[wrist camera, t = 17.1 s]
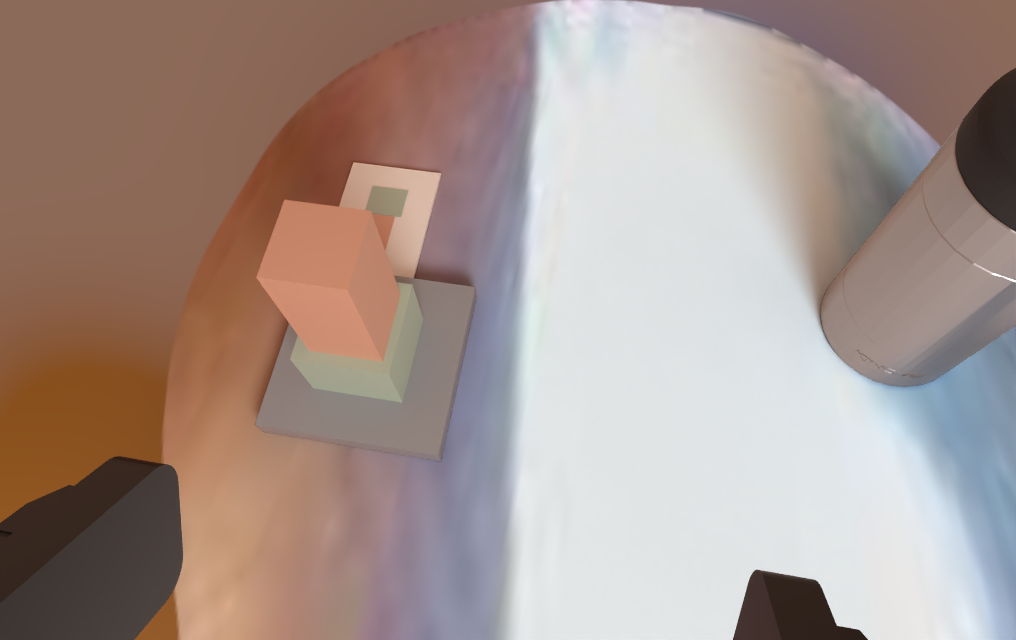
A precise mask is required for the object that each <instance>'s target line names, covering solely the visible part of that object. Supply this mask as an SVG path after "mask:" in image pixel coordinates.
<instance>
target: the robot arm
mask: <svg viewBox="0 0 1016 640" xmlns="http://www.w3.org/2000/svg"><path fill="white" fill-rule="evenodd" d="M821 321H822V326H823V330H824V333H825V335H826V337H827V340H828V342H829V344H830V345H831V346H832V348H833V349H834V351H835V352H836V354H837V355H838V356H839V357H840V358H841V359H842V360H843V361H844V362H845V363H846V364H847V365H848V366H850V367H851V368H852V369H854V370H855V371H857V372H858V373H859V374H861V375H863V376H865V377H867V378H869V379H871V380H873V381H876V382H880V383H883V384H887V385H891V386H901V387H909V386H919V385H923V384H926V383H929V382H932V381H934V380H935V379H937V378H939V377H940V376H942V375H944V374H945V373H946V372H948V371H949V370H951V369H952V368H954V367H955V366H957V365H958V364H960V363H961V362H963V361H964V360H966V359H967V358H969V357H970V356H972V355H973V354H975V353H976V352H978V351H979V350H981V349H982V348H984V347H985V346H987V345H988V344H989V343H991V342H992V341H994V340H995V339H997V338H998V337H1000V336H1001V335H1003V334H1004V333H1006V332H1007V331H1008V330H1010V329H1011V328H1013V327H1014V326H1016V68H1015V69H1013V70H1011V71H1010V72H1008V73H1007V74H1005V75H1004V76H1002V77H1001V78H1000V79H999V80H997V81H996V82H995V83H994V84H993V85H992V86H991V87H990V88H989V89H988V90H987V91H986V92H985V93H984V94H983V95H982V97H981V98H980V99H979V100H978V102H977V103H976V104H975V105H974V107H973V108H972V109H971V110H970V111H969V113H968V114H967V115H966V116H965V118H964V119H963V121H962V122H961V123H960V125H959V126H958V127H957V128H956V130H955V131H954V132H953V133H952V135H951V136H950V137H949V138H948V139H947V141H946V142H945V143H944V145H943V146H942V147H941V148H940V149H939V151H938V152H937V153H936V154H935V156H934V157H933V158H932V159H931V161H930V162H929V164H928V165H927V166H926V167H925V168H924V170H923V171H922V172H921V173H920V175H919V176H918V177H917V178H916V180H915V181H914V182H913V183H912V185H911V186H910V187H909V188H908V189H907V191H906V192H905V193H904V194H903V196H902V197H901V198H900V199H899V201H898V202H897V203H896V204H895V206H894V207H893V208H892V209H891V210H890V212H889V213H888V214H887V215H886V217H885V218H884V219H883V220H882V222H881V223H880V224H879V225H878V227H877V228H876V229H875V230H874V231H873V233H872V234H871V235H870V236H869V238H868V239H867V240H866V241H865V243H864V244H863V245H862V246H861V247H860V249H859V250H858V251H857V252H856V254H855V255H854V256H853V257H852V258H851V259H850V261H849V262H848V263H847V264H846V266H845V267H844V268H843V269H842V271H841V272H840V273H839V274H838V276H837V277H836V278H835V279H834V281H833V282H832V283H831V285H830V286H829V288H828V289H827V291H826V292H825V295H824V298H823V301H822V304H821ZM182 562H183V546H182V531H181V515H180V500H179V485H178V476H177V473H176V471H175V469H174V468H173V467H172V466H170V465H167V464H161V463H155V462H149V461H144V460H138V459H132V458H127V457H121V456H118V457H114V458H111V459H109V460H108V461H106V462H105V463H104V464H102V465H101V466H100V467H98V468H97V469H96V470H94V471H93V472H92V473H91V474H89V475H88V476H87V477H85V478H84V479H83V480H81V481H80V482H79V483H78V484H76V485H75V486H71V485H68V486H66V487H64V488H61V489H59V490H57V491H55V492H52V493H50V494H48V495H45V496H43V497H41V498H39V499H37V500H34V501H32V502H29V503H27V504H26V505H24V506H23V507H21V508H20V509H19V510H17V511H16V512H15V513H13V514H12V515H11V516H9V517H8V518H7V519H5V520H4V521H2V522H1V523H0V640H134V639H135V638H136V637H137V636H138V635H139V633H140V632H141V631H142V630H143V629H144V627H145V626H146V625H147V624H148V623H149V622H150V620H151V619H152V618H153V617H154V616H155V614H156V613H157V612H158V611H159V610H160V609H161V607H162V606H163V605H164V604H165V603H166V601H167V600H168V599H169V597H170V595H171V594H172V592H173V590H174V588H175V586H176V584H177V581H178V578H179V575H180V572H181V568H182ZM733 640H868V639H867V638H866V637H865V636H864V635H863V634H862V632H861V631H860V630H857V629H851V628H846V627H840V626H837V625H836V623H835V620H834V618H833V615H832V613H831V610H830V608H829V605H828V603H827V600H826V598H825V595H824V593H823V590H822V588H821V586H820V584H819V583H818V582H817V581H816V580H813V579H807V578H801V577H796V576H790V575H784V574H779V573H773V572H767V571H761V570H755V571H754V572H753V573H752V575H751V577H750V579H749V583H748V586H747V590H746V593H745V597H744V601H743V604H742V608H741V612H740V616H739V619H738V623H737V627H736V630H735V634H734V638H733Z"/></svg>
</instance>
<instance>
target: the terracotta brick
mask: <svg viewBox="0 0 1016 640" xmlns="http://www.w3.org/2000/svg"><path fill="white" fill-rule="evenodd" d="M256 278H257V279H258V280H259V282H260V283H261V285H262V286H263V287H264V289H265V290H266V292H267V293H268V294H269V296H270V297H271V299H272V300H273V301H274V303H275V304H276V305H277V307H278V308H279V310H280V311H281V312H282V314H283V315H284V317H285V318H286V319H287V321H288V322H289V324H290V325H291V326H292V328H293V329H294V331H295V332H296V333H297V335H298V336H299V338H300V339H301V340H302V342H303V343H304V345H305V346H306V347H307V349H308V350H309V351H313V352H319V353H326V354H333V355H339V356H346V357H353V358H359V359H366V360H373V361H379V362H383V360H384V356H385V352H386V348H387V344H388V341H389V337H390V333H391V329H392V325H393V322H394V318H395V314H396V310H397V306H398V302H399V299H400V295H401V294H400V291H399V289H398V286H397V283H396V280H395V277H394V274H393V272H392V269H391V266H390V263H389V260H388V257H387V255H386V252H385V249H384V246H383V243H382V241H381V238H380V235H379V232H378V229H377V226H376V224H375V221H374V218H373V215H372V212H371V211H368V210H360V209H352V208H345V207H337V206H329V205H321V204H314V203H306V202H298V201H290V200H284V203H283V205H282V208H281V211H280V214H279V216H278V219H277V222H276V225H275V227H274V230H273V233H272V236H271V238H270V241H269V244H268V247H267V249H266V252H265V255H264V258H263V260H262V263H261V266H260V269H259V271H258V274H257V277H256Z"/></svg>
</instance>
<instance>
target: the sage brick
mask: <svg viewBox="0 0 1016 640" xmlns="http://www.w3.org/2000/svg"><path fill="white" fill-rule="evenodd" d="M396 283H397V286H398V289H399V291H400V294H401V295H400V299H399V302H398V306H397V310H396V314H395V318H394V322H393V325H392V329H391V333H390V337H389V341H388V344H387V348H386V352H385V356H384V360H383V362H379V361H373V360H366V359H359V358H353V357H346V356H339V355H333V354H326V353H319V352H313V351H309V350H308V349H307V347H306V346H305V345H304V343H303V342H302V340H301V339H300V338H299V336H297V339H296V343H295V346H294V349H293V352H292V355H291V358H290V360H291V361H292V362H293V363H294V365H295V366H296V367H297V368H298V370H299V371H300V372H301V373H302V375H303V376H304V377H305V378H306V380H307V381H308V382H309V384H310V385H311V386H312V387H313V388H315V389H321V390H327V391H333V392H340V393H346V394H352V395H358V396H364V397H371V398H377V399H383V400H389V401H395V402H402V403H403V399H404V395H405V391H406V387H407V383H408V379H409V375H410V371H411V367H412V363H413V359H414V355H415V351H416V347H417V343H418V339H419V335H420V331H421V327H422V323H423V317H422V313H421V310H420V307H419V304H418V301H417V297H416V294H415V291H414V288H413V285H412V284H405V283H398V282H396Z"/></svg>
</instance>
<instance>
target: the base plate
mask: <svg viewBox="0 0 1016 640" xmlns="http://www.w3.org/2000/svg"><path fill="white" fill-rule="evenodd" d="M394 277H395V280H396V282H398V283H405V284H412V285H413V288H414V291H415V294H416V297H417V301H418V304H419V307H420V310H421V313H422V317H423V323H422V327H421V331H420V335H419V339H418V343H417V347H416V351H415V355H414V359H413V363H412V367H411V371H410V375H409V379H408V383H407V387H406V391H405V395H404V399H403V403H402V402H395V401H389V400H383V399H377V398H371V397H364V396H358V395H352V394H346V393H340V392H333V391H327V390H321V389H315V388H313V387H312V386H311V385H310V384H309V382H308V381H307V380H306V378H305V377H304V376H303V375H302V373H301V372H300V371H299V370H298V368H297V367H296V366H295V365H294V363H293V362H292V361H291V360H290V358H291V355H292V352H293V349H294V346H295V343H296V339H297V336H298V335H297V333H296V332H295V331H294V329H293V328H292V326H291V325H290V324H289V325H288V328H287V331H286V334H285V337H284V340H283V343H282V346H281V349H280V352H279V355H278V357H277V360H276V363H275V366H274V369H273V372H272V375H271V378H270V381H269V384H268V387H267V390H266V393H265V396H264V399H263V402H262V405H261V408H260V411H259V414H258V417H257V420H256V423H255V425H256V426H257V427H258V428H259V429H260V430H261V431H263V432H268V433H274V434H280V435H286V436H292V437H298V438H304V439H310V440H316V441H322V442H328V443H333V444H339V445H345V446H351V447H357V448H363V449H369V450H375V451H381V452H387V453H393V454H399V455H405V456H411V457H417V458H423V459H429V460H435V461H441V459H442V454H443V450H444V445H445V440H446V436H447V431H448V427H449V422H450V417H451V413H452V408H453V404H454V399H455V394H456V390H457V385H458V381H459V376H460V371H461V367H462V362H463V358H464V353H465V348H466V344H467V339H468V335H469V330H470V325H471V321H472V316H473V312H474V307H475V302H476V298H477V296H476V289H475V287H471V286H464V285H457V284H450V283H443V282H436V281H429V280H422V279H415V278H408V277H401V276H394Z"/></svg>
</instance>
